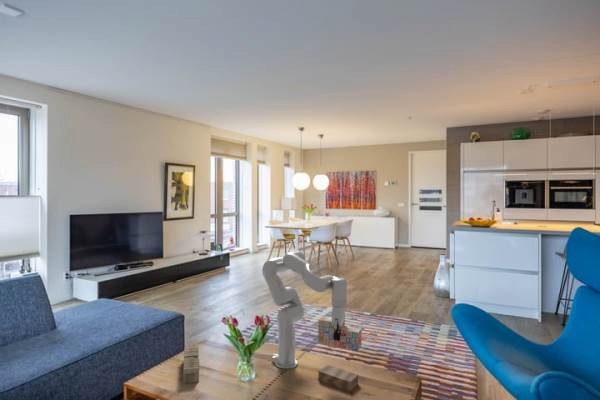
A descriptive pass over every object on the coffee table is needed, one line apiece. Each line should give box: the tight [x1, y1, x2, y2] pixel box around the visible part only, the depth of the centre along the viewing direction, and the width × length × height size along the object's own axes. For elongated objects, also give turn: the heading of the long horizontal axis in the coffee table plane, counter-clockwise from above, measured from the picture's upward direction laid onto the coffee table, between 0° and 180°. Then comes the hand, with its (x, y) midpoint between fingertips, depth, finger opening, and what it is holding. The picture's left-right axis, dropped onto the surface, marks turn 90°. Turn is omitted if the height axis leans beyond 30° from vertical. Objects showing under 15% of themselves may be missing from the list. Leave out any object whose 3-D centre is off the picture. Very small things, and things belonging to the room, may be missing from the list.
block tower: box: [182, 345, 200, 384], centre depth 194 cm, size 8×8×29 cm
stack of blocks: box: [317, 316, 363, 352], centre depth 184 cm, size 21×6×12 cm, turn 63°
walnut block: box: [317, 364, 359, 392], centre depth 184 cm, size 18×9×5 cm, turn 54°
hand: (338, 337), depth 184 cm, fingers closed on stack of blocks, 6 cm apart
